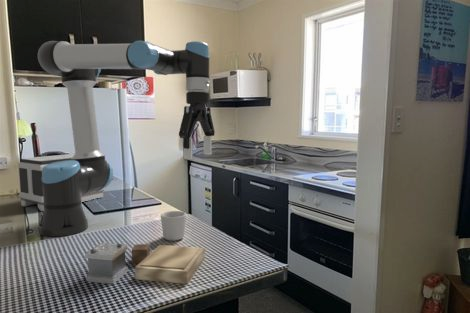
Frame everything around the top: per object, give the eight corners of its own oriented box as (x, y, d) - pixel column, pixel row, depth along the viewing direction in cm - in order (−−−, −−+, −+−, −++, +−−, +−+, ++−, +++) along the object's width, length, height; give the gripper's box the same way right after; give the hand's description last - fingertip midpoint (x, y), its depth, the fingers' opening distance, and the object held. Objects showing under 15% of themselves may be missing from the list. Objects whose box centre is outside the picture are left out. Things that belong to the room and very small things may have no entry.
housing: (86, 281, 83) (84, 251, 82) (102, 269, 90) (101, 241, 89) (113, 284, 82) (112, 253, 81) (128, 271, 89) (127, 243, 88)
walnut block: (132, 264, 93) (131, 249, 93) (135, 258, 97) (134, 244, 96) (147, 264, 93) (147, 249, 93) (149, 258, 97) (149, 244, 97)
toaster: (111, 196, 173) (110, 154, 171) (42, 212, 144) (39, 161, 142) (88, 192, 183) (86, 152, 180) (19, 206, 154) (16, 158, 152)
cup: (163, 231, 119) (163, 208, 118) (187, 231, 120) (187, 208, 119) (159, 243, 109) (159, 217, 108) (185, 242, 109) (185, 217, 108)
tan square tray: (135, 279, 84) (135, 266, 84) (160, 255, 99) (159, 243, 98) (187, 283, 82) (187, 270, 81) (204, 258, 96) (204, 247, 96)
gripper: (188, 88, 101) (189, 161, 104) (224, 93, 124) (223, 153, 126) (166, 89, 104) (167, 160, 106) (205, 94, 127) (205, 152, 129)
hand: (198, 156), depth 116 cm, fingers open, 13 cm apart
